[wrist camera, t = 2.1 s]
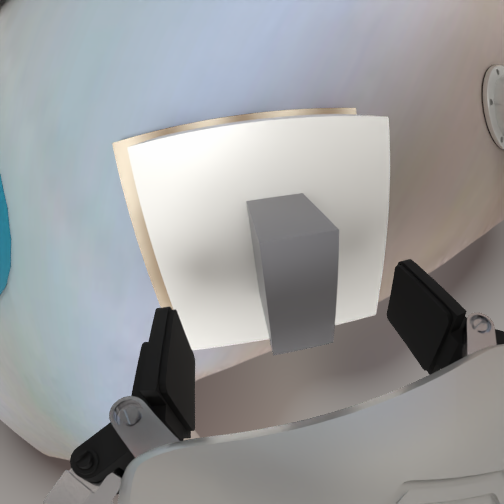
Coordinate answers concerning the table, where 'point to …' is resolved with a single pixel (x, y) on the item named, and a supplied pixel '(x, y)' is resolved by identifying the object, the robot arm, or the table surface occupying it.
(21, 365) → the table surface
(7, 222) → the blue ring
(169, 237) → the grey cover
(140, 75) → the table surface
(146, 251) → the birch board
